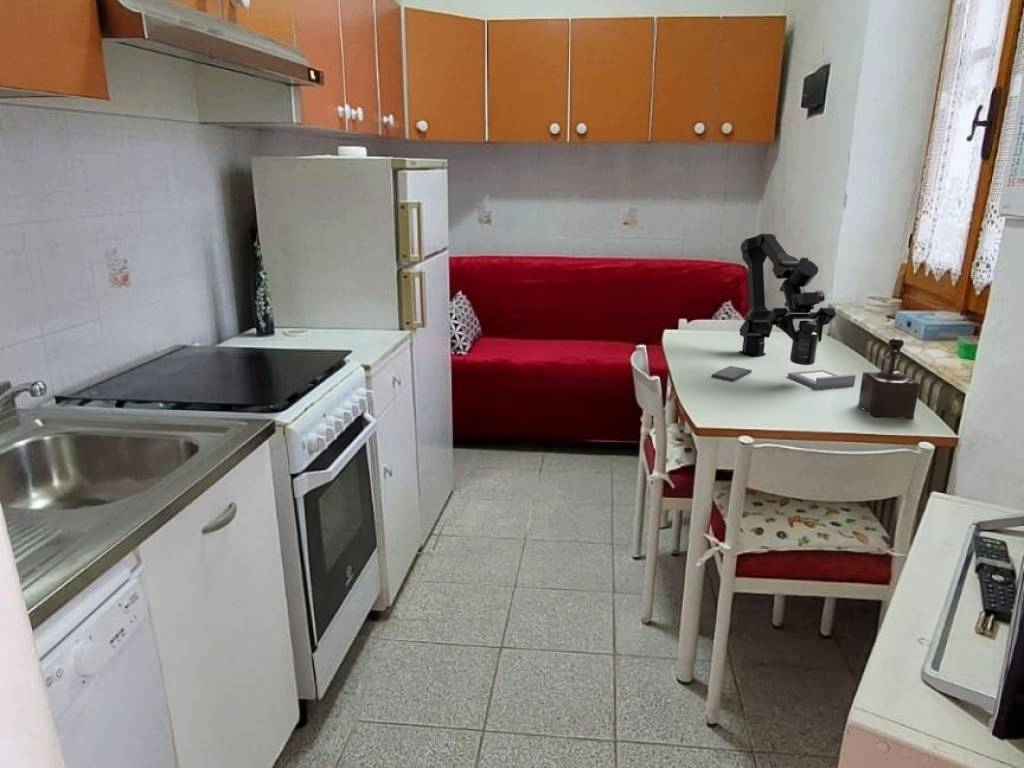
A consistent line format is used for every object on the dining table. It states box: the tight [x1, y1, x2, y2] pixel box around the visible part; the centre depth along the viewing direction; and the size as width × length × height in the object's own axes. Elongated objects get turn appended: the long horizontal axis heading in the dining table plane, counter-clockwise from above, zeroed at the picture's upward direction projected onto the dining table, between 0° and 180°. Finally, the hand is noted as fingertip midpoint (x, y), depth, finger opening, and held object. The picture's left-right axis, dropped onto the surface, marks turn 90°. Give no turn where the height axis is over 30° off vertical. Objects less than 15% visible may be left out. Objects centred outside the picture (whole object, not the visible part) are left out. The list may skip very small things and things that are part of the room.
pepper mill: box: [858, 337, 920, 419], centre depth 185 cm, size 16×11×18 cm
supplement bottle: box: [789, 319, 819, 366], centre depth 204 cm, size 7×7×12 cm
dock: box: [787, 369, 857, 390], centre depth 210 cm, size 13×13×3 cm
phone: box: [711, 365, 753, 382], centre depth 216 cm, size 7×13×1 cm, turn 139°
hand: (808, 341), depth 203 cm, fingers closed on supplement bottle, 7 cm apart
